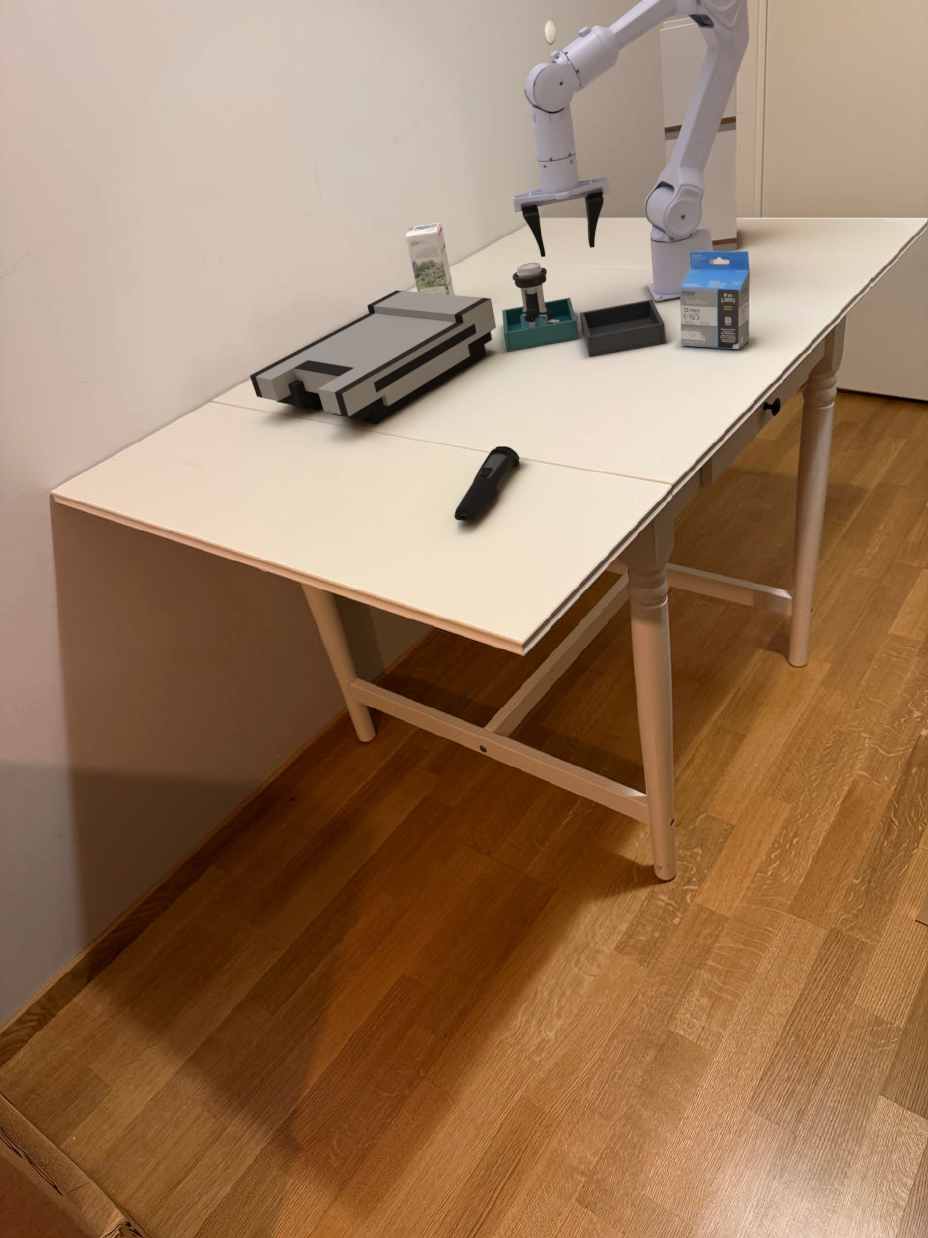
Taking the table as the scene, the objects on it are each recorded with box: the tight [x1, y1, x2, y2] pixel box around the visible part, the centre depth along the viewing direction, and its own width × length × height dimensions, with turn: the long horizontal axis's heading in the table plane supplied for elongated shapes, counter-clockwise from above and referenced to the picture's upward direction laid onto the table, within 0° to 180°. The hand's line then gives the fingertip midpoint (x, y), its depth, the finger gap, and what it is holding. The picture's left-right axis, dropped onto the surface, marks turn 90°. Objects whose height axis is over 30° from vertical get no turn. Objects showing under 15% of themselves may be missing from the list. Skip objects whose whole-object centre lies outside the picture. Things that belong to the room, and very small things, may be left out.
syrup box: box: [405, 222, 456, 295], centre depth 159 cm, size 6×6×14 cm
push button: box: [512, 262, 559, 329], centre depth 142 cm, size 7×5×10 cm
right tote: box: [579, 299, 666, 357], centre depth 136 cm, size 11×11×3 cm
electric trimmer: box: [454, 445, 521, 522], centre depth 105 cm, size 4×16×3 cm, turn 158°
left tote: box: [501, 297, 579, 352], centre depth 144 cm, size 11×11×3 cm
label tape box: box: [679, 250, 751, 350], centre depth 125 cm, size 9×4×12 cm, turn 53°
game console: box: [249, 290, 497, 425], centre depth 138 cm, size 21×32×8 cm, turn 139°
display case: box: [659, 16, 738, 251], centre depth 155 cm, size 11×11×35 cm
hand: (567, 250), depth 142 cm, fingers open, 7 cm apart
